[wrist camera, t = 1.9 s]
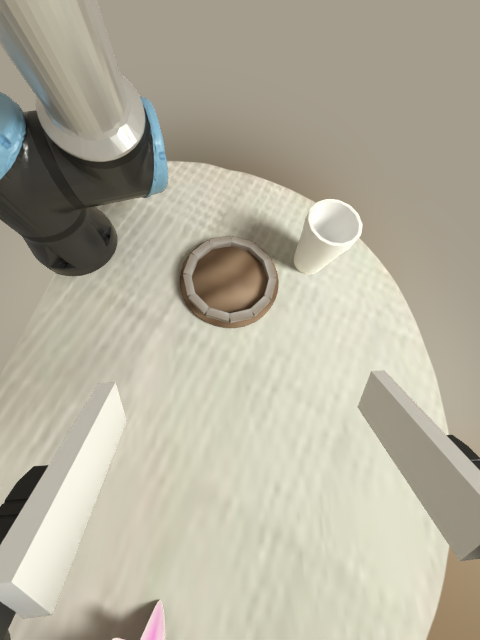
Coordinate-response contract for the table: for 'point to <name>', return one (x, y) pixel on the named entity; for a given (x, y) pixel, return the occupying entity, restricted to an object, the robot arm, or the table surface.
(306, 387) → the table surface
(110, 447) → the robot arm
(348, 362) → the table surface
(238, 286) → the plate
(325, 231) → the foam cup
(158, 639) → the lily
